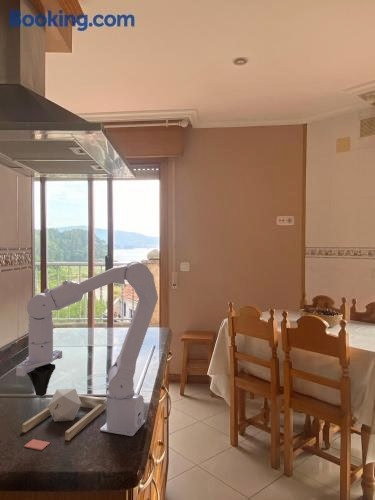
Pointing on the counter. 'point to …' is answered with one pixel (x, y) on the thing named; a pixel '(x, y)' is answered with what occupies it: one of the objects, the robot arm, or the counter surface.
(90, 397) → the channel
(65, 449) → the counter surface
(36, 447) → the mat
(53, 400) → the die
